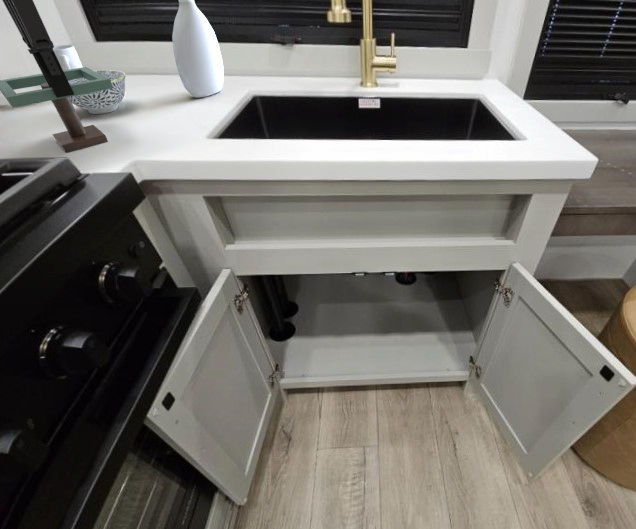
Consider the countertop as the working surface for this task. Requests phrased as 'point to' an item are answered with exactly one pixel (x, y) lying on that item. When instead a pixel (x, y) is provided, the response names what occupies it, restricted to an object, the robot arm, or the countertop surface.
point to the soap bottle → (196, 51)
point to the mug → (67, 57)
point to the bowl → (102, 94)
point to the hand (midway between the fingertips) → (63, 94)
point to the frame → (47, 94)
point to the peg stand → (74, 127)
